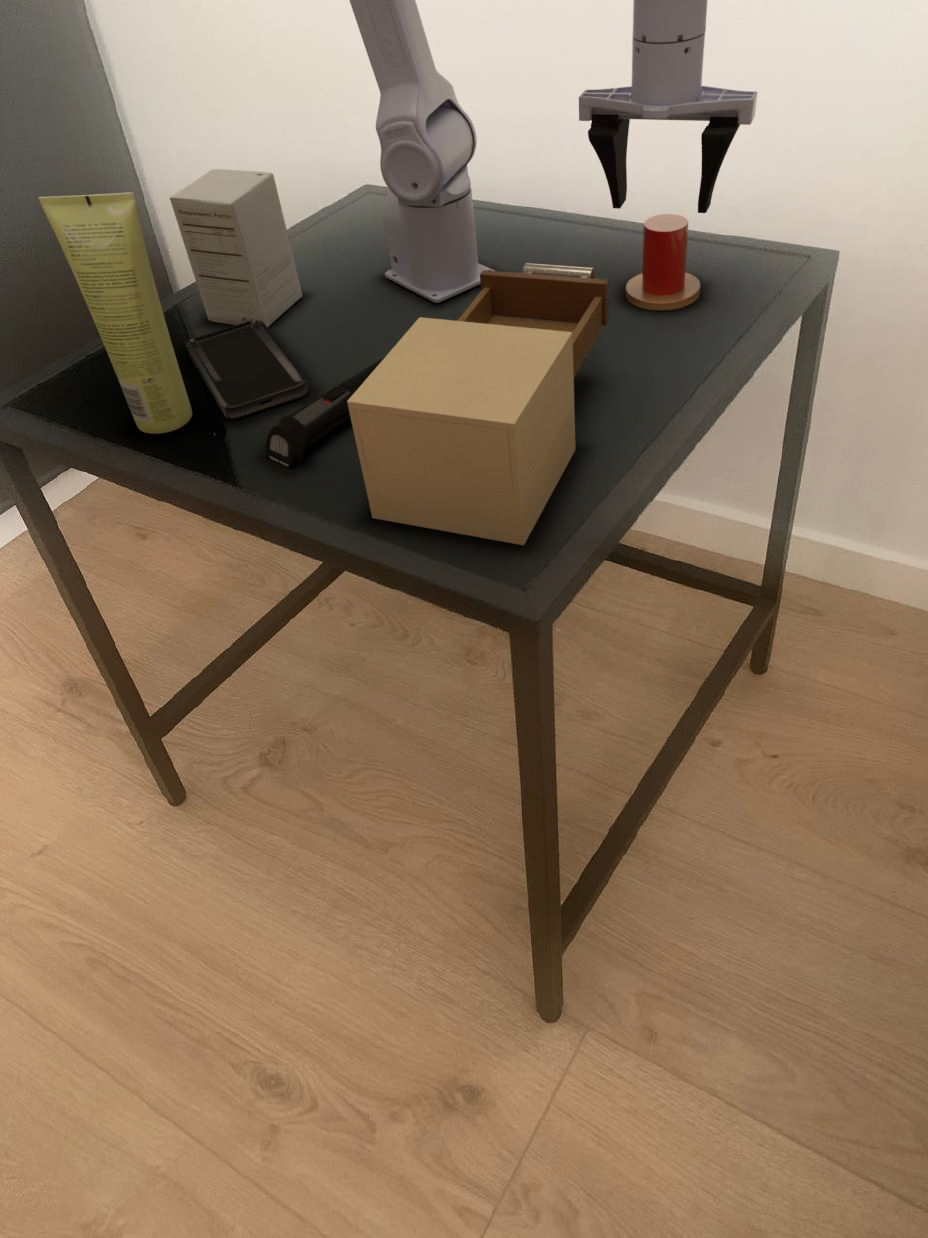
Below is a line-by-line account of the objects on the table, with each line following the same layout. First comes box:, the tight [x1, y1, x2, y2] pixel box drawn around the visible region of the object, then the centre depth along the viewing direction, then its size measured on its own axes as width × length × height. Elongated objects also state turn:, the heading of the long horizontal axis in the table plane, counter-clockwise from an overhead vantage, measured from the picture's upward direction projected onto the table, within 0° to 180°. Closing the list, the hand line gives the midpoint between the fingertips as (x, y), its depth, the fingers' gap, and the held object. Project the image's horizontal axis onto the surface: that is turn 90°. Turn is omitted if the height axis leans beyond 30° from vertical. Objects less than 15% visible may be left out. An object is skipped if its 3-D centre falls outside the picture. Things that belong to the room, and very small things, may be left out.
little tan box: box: [347, 316, 577, 546], centre depth 69 cm, size 12×12×10 cm
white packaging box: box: [169, 168, 303, 329], centre depth 94 cm, size 7×7×13 cm
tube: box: [38, 191, 193, 435], centre depth 77 cm, size 6×5×20 cm
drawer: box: [456, 262, 609, 378], centre depth 77 cm, size 16×11×4 cm
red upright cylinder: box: [641, 213, 689, 295], centre depth 89 cm, size 4×4×6 cm
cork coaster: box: [625, 271, 701, 312], centre depth 91 cm, size 7×7×1 cm
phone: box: [185, 320, 309, 420], centre depth 88 cm, size 8×1×15 cm
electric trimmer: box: [265, 355, 387, 467], centre depth 80 cm, size 4×16×3 cm, turn 140°
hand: (661, 206), depth 85 cm, fingers open, 7 cm apart
